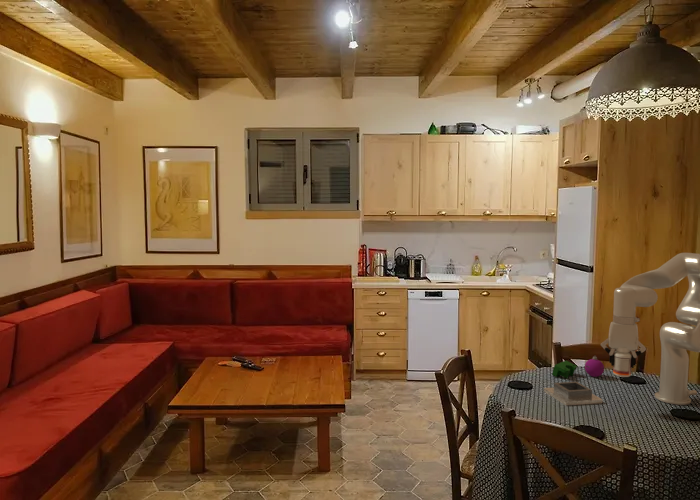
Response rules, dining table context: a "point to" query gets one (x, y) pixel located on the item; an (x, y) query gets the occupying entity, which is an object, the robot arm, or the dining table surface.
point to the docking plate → (572, 394)
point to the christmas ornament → (594, 367)
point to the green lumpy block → (564, 369)
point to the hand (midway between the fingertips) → (622, 365)
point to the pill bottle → (622, 362)
